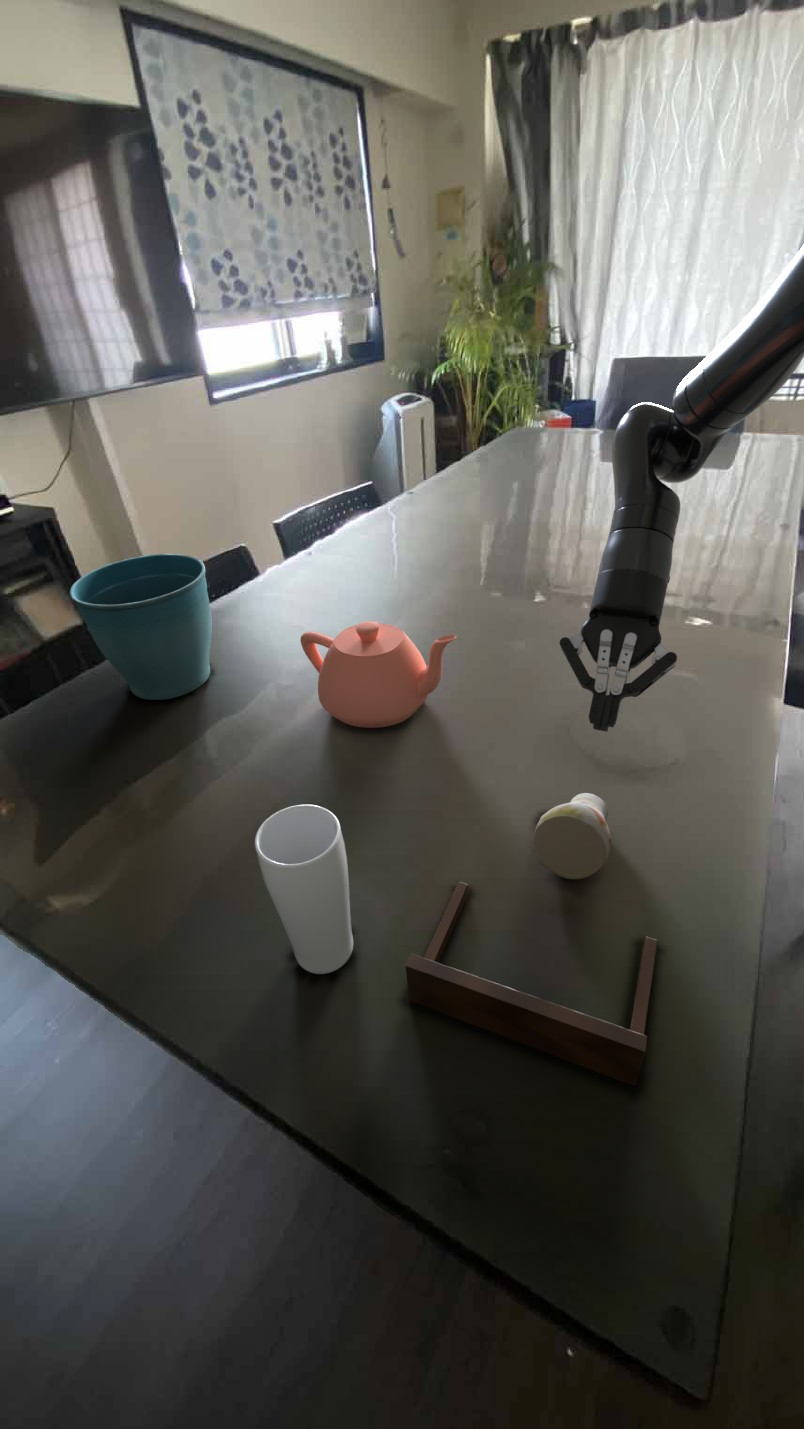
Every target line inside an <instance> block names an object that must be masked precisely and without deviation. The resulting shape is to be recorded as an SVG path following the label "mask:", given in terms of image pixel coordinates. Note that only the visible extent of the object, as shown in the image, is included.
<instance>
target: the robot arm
mask: <svg viewBox="0 0 804 1429" xmlns="http://www.w3.org/2000/svg"><path fill="white" fill-rule="evenodd" d="M803 359H804V245H802V247H801V248H800V250H799V251H798V252H797V253H796V254H795V256H794V257H793V259H792V260H791V261H790V262H789V264H788V265H787V266H786V267H785V269H784V270H783V271H782V273H781V274H780V275H779V276H778V278H777V279H776V280H775V282H774V283H773V284H772V285H771V286H770V288H769V289H768V290H767V292H766V293H765V294H764V295H763V297H761V299H760V300H759V301H758V302H757V304H756V305H755V306H754V307H753V308H752V309H751V311H750V312H749V313H748V314H747V315H746V316H745V317H744V318H743V319H742V321H741V322H740V323H739V324H738V325H737V326H736V327H735V328H734V329H733V330H732V331H730V333H729V334H728V335H727V336H726V337H725V338H724V339H723V340H722V341H721V342H720V343H719V344H718V345H717V346H716V347H714V349H713V350H712V351H711V352H710V353H709V354H707V355H706V357H705V358H703V360H702V361H701V362H699V363H698V365H697V366H696V367H695V368H693V369H692V370H691V371H689V373H688V374H687V375H686V376H685V377H684V378H683V379H682V381H681V382H680V383H679V385H678V386H677V387H676V389H675V391H674V393H673V395H672V399H671V409H669V408H667V407H664V406H662V405H659V404H655V403H652V402H641V403H638V404H636V405H633V406H632V407H631V408H629V409H628V410H627V411H626V412H625V414H623V416H622V417H621V419H620V420H619V422H618V424H617V426H616V428H615V431H614V435H613V438H612V445H611V464H612V465H611V466H612V474H613V489H614V490H613V491H614V492H613V493H614V509H613V514H612V519H611V524H610V528H609V532H608V537H607V540H606V544H605V547H604V549H603V551H602V555H601V559H600V563H599V568H598V572H597V577H596V581H595V586H594V591H593V595H592V600H591V604H590V608H589V614H588V617H587V619H586V621H585V622H583V624H582V626H581V628H580V632H578V633H576V634H574V635H573V636H570V637H567V636H564V637H562V638H560V639H559V646H560V648H561V651H562V653H563V655H564V656H565V659H566V660H567V662H568V664H569V666H570V667H571V669H572V672H573V673H574V676H575V678H576V679H577V681H578V684H580V687H581V688H582V689H584V690H587V691H589V692H591V693H592V699H591V704H590V708H589V713H588V720H589V724H591V725H593V726H592V729H593V730H595V731H601V732H606V733H608V731H609V728H614V727H615V726H616V724H617V721H618V715H619V711H620V706H621V702H622V700H624V699H625V698H630V697H632V698H637V697H639V696H640V695H642V694H643V693H644V692H645V691H646V690H648V689H649V688H650V687H651V686H653V685H654V684H655V683H656V682H657V681H659V680H660V679H661V678H663V677H664V676H665V675H666V674H667V673H669V672H670V671H671V670H673V668H675V666H676V664H677V660H678V656H677V654H676V653H675V652H674V651H669V649H667V648H666V647H665V646H664V645H663V644H662V633H661V632H660V625H661V618H662V613H663V609H664V605H665V599H666V595H667V589H668V585H669V583H670V580H671V570H672V564H673V549H674V543H675V538H676V535H677V534H676V533H677V528H678V524H679V519H680V514H681V500H680V498H679V495H678V494H677V493H676V491H674V490H673V489H672V488H671V487H669V486H668V485H666V484H665V483H667V484H679V483H683V482H686V481H689V480H691V479H693V478H694V477H696V475H697V474H699V473H700V471H701V470H702V469H703V467H704V466H705V464H706V463H707V461H708V459H709V458H710V457H711V455H712V454H713V452H714V451H715V449H716V448H717V447H718V446H719V444H720V443H721V442H722V440H723V439H724V438H725V436H726V435H727V434H728V433H729V432H730V431H731V429H732V428H734V427H735V426H737V425H738V424H739V423H741V421H743V420H745V419H746V418H747V417H749V415H751V414H752V413H753V412H755V411H756V410H757V409H758V408H760V407H761V406H763V404H765V403H766V402H767V401H768V400H770V399H771V398H772V397H773V396H774V395H775V394H776V393H778V391H779V390H781V388H782V387H783V386H784V385H785V384H786V383H787V382H788V380H790V378H791V376H792V375H793V374H794V373H795V371H796V370H797V368H799V365H800V363H801V362H802V360H803ZM583 644H585V647H586V648H587V650H588V652H589V654H590V657H591V658H592V660H593V661H594V662H595V664H596V670H595V671H596V672H595V677H592V676H590V674H589V672H588V670H587V669H586V666H585V665H584V663H583V660H582V659H581V657H580V656H581V655H582V653H583V647H582V646H583ZM653 653H654V655H653V656H652V658H651V666H649V667H648V668H647V669H646V670H644V671H643V672H642V673H641V674H640V675H638V676H637V677H636V678H635V679H634V680H632V681H631V682H628V680H629V676H630V673H631V670H632V669H635V668H637V667H638V666H640V664H642V663H643V662H644V661H645V660H646V659H647V658H649V657H650V656H651V655H652V654H653ZM613 667H615V670H614V675H613V679H612V683H611V686H610V689H609V679H610V675H611V674H610V673H611V668H613ZM608 689H609V693H608Z"/></svg>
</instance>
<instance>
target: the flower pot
mask: <svg viewBox="0 0 804 1429" xmlns="http://www.w3.org/2000/svg"><path fill="white" fill-rule="evenodd" d="M206 572H207V571H206V567H205V564H204V562H203V561H202V560H200V559H199V558H197V557H195V556H191V555H186V554H180V553H159V554H147V555H142V556H135V557H130V558H125V559H122V560H118V561H114V562H111V563H109V564H106V565H103V566H101V567H98V568H95V569H94V570H91V571H89V572H88V573H86V574H84V575H83V576H81V577H80V578H79V579H76V581H75V582H74V583H73V584H72V586H70V587H71V588H70V590H69V596H70V599H71V600H72V601H73V603H74V604H75V605H76V607H77V609H78V611H79V614H80V615H81V617H82V618H83V620H84V622H85V625H86V626H87V629H88V630H89V633H90V635H91V637H92V638H93V641H94V643H95V644H96V646H97V647H98V649H99V650H100V652H101V653H102V655H103V656H104V657H105V659H106V660H107V661H108V662H109V663H110V664H111V666H112V667H113V668H114V669H115V670H116V671H117V672H118V674H120V676H121V677H122V678H123V680H124V681H125V682H126V683H127V685H128V686H129V690H130V692H131V693H132V694H133V695H134V696H136V697H137V698H140V699H143V700H149V701H161V700H170V699H174V698H178V697H181V696H184V695H186V694H189V693H192V692H193V691H195V690H197V689H198V688H200V687H201V686H202V685H204V684H205V682H207V680H208V679H209V677H210V675H211V667H210V652H211V642H212V633H213V632H212V631H213V622H212V611H211V604H210V598H209V593H208V584H207V579H206Z"/></svg>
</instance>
